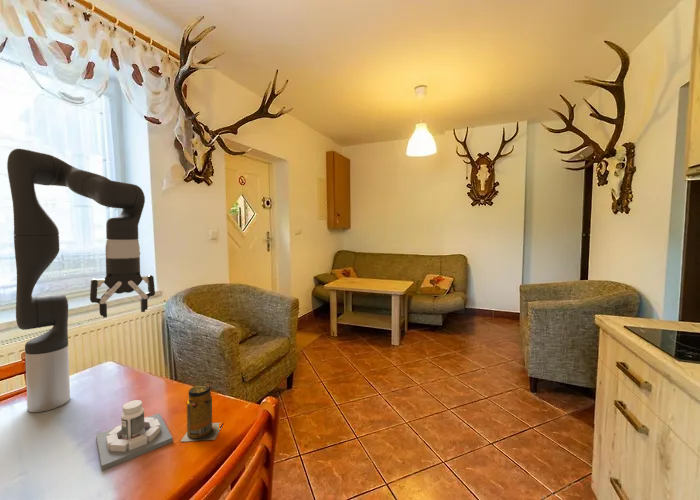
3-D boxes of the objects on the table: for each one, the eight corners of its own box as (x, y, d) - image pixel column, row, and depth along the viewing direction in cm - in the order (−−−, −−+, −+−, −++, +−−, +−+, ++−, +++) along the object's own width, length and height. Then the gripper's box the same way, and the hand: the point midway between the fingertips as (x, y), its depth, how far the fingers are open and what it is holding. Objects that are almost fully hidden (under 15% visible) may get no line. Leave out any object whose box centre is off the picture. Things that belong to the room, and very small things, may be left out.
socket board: (96, 439, 78) (96, 428, 78) (159, 417, 88) (159, 407, 87) (101, 470, 68) (101, 459, 68) (172, 442, 78) (172, 431, 77)
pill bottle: (147, 428, 81) (146, 397, 80) (140, 440, 76) (140, 407, 76) (126, 431, 79) (125, 400, 79) (118, 443, 75) (117, 410, 74)
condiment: (192, 424, 85) (191, 382, 84) (223, 423, 86) (223, 381, 85) (180, 442, 78) (179, 396, 77) (214, 441, 78) (214, 395, 78)
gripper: (150, 254, 91) (151, 307, 92) (88, 256, 81) (89, 315, 82) (156, 256, 86) (157, 312, 87) (90, 258, 76) (91, 322, 77)
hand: (124, 314), depth 85 cm, fingers open, 8 cm apart
